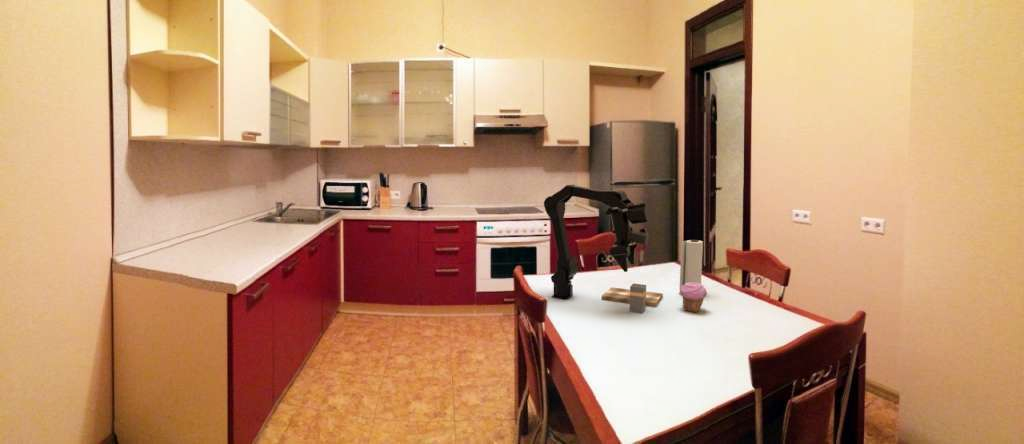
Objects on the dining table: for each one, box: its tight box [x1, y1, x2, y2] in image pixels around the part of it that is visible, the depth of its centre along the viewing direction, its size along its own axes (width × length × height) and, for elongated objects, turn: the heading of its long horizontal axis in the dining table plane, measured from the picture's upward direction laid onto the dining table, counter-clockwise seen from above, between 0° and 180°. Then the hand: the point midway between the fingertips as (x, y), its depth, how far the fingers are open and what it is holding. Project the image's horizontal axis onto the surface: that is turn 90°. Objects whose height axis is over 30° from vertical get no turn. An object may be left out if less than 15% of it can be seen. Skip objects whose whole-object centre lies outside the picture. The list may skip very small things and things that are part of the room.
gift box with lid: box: [629, 283, 647, 314], centre depth 160 cm, size 5×5×9 cm
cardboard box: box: [601, 286, 664, 308], centre depth 174 cm, size 20×13×2 cm, turn 62°
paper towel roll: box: [678, 239, 704, 296], centre depth 177 cm, size 7×6×21 cm
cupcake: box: [679, 282, 708, 313], centre depth 160 cm, size 9×9×10 cm
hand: (629, 268), depth 163 cm, fingers open, 9 cm apart
